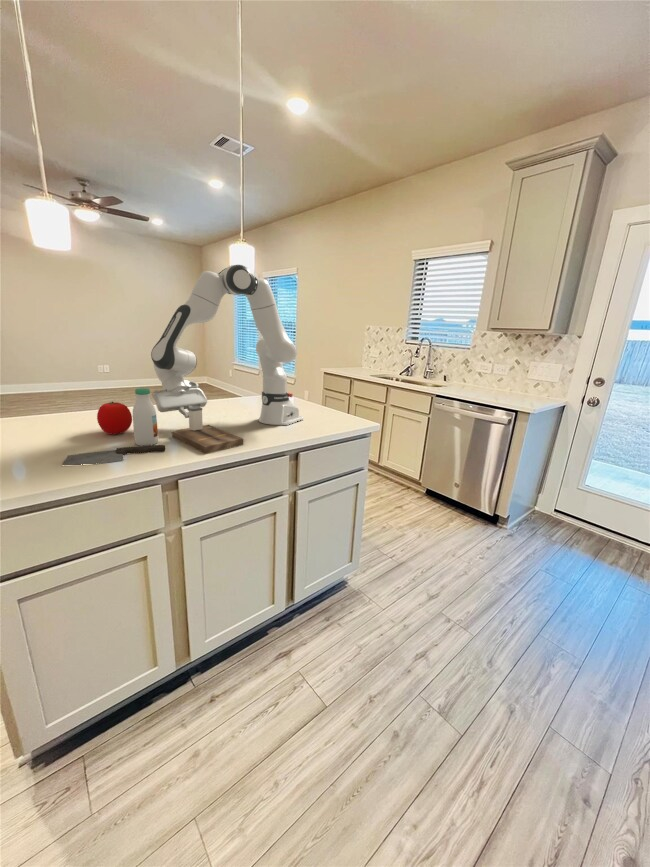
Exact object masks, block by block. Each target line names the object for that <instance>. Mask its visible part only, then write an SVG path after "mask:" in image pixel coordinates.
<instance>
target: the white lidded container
mask: <svg viewBox="0 0 650 867" xmlns="http://www.w3.org/2000/svg"><path fill="white" fill-rule="evenodd" d="M188 410H189V411H188ZM188 410H187V411H188V412H189V418H188V428H189V429H191V430H193V431H194V430H200V429H203V424H204V422H203V407H190V408H188Z"/></svg>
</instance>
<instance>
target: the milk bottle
mask: <svg viewBox="0 0 650 867" xmlns="http://www.w3.org/2000/svg"><path fill="white" fill-rule="evenodd" d="M134 392H135V396H136V399H135V403H134V405H133V408H132V426H133V434H134V444H135V445H136V446H147V445H157V444H158V442H159V431H158V419H157V411H156V408H155V406H154V404H153V402H152V400H151V398H150V396H151V390H150V389H149V388H146V387H145V388H144V387H141V388H140V387H139V388H135V390H134Z"/></svg>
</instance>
